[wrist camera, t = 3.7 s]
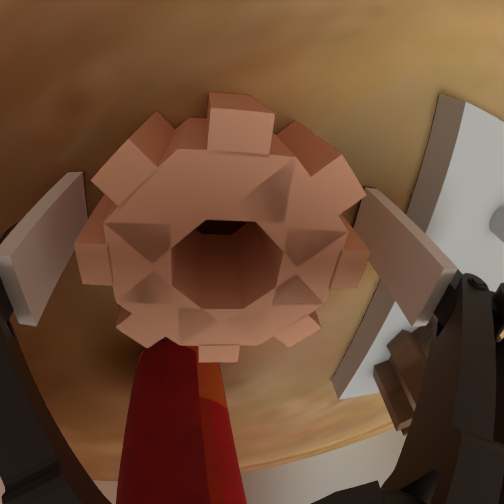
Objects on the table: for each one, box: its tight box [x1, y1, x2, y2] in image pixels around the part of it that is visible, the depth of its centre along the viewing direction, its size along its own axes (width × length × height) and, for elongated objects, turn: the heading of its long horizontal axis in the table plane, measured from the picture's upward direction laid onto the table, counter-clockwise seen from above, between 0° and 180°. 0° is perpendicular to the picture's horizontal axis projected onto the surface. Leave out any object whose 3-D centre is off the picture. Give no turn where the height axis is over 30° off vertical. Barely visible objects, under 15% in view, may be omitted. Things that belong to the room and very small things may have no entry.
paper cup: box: [116, 340, 247, 504], centre depth 14 cm, size 8×8×14 cm
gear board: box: [332, 94, 504, 400], centre depth 16 cm, size 12×22×7 cm, turn 173°
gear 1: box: [74, 92, 371, 362], centre depth 12 cm, size 10×10×5 cm
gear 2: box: [373, 313, 502, 435], centre depth 18 cm, size 10×10×6 cm
